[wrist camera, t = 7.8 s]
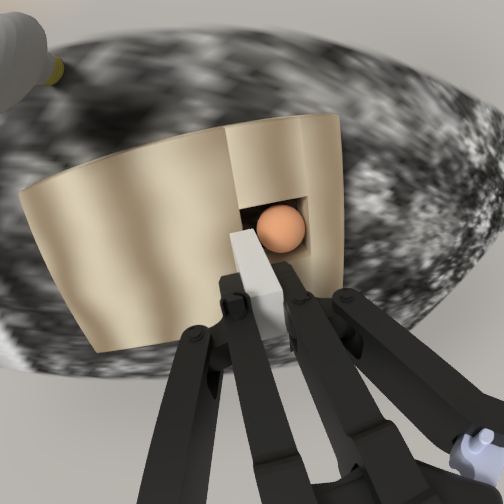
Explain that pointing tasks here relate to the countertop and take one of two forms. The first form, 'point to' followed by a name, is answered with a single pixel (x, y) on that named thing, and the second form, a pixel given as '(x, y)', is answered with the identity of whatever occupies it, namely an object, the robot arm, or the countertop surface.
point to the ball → (280, 228)
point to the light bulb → (24, 58)
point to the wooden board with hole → (184, 223)
